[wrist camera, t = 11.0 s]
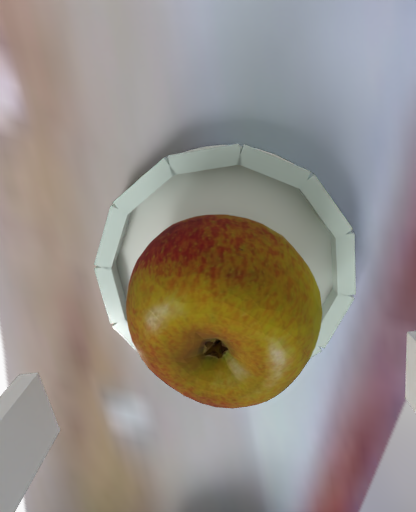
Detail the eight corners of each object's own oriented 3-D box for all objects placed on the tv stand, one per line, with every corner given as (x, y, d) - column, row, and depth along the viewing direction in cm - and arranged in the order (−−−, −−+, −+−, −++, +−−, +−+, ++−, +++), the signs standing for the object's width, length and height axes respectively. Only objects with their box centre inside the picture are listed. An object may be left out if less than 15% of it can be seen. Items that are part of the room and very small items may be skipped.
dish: (349, 356, 23) (358, 374, 22) (136, 377, 25) (129, 396, 23) (342, 123, 18) (354, 122, 17) (77, 167, 20) (63, 171, 18)
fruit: (122, 299, 22) (68, 388, 14) (184, 170, 19) (157, 196, 11) (254, 361, 23) (268, 473, 16) (332, 248, 20) (395, 319, 13)
